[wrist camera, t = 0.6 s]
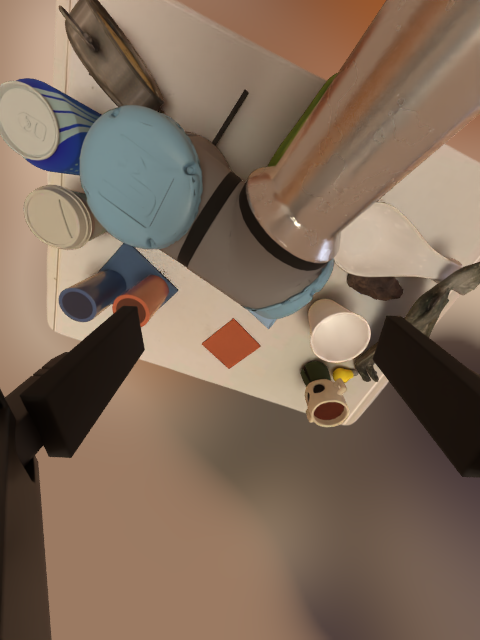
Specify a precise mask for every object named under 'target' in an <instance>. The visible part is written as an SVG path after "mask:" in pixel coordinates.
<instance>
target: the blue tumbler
mask: <svg viewBox="0 0 480 640" xmlns="http://www.w3.org/2000/svg"><path fill="white" fill-rule="evenodd" d="M125 291H126V282H125V280H124V278H123V277H122V276H121V275H120V274H119V273H117V272H116V271H113V270H103V271H101V272H99V273H97V274H95V275H93V276H91V277H89V278H87V279H85V280H83V281H81V282H79V283H77V284H75V285H73V286H71V287H69V288H67V289H65V290H63V291H62V292H61V293H60V296H59V305H60V307H61V309H62V311H63V312H64V313H65V314H66V315H67V316H68V317H69V318H71V319H73V320H75V321H79V322H88V321H90V320H92V319H93V318H95V317H96V316H97V315H99V314H100V313H101V312H102V311H104V310H105V309H106V308H107V307H109V306H110V305H111V304H113V303H114V301H115V299H116V298H117V297H119V296H120V295H121V294H123V293H124V292H125Z"/></svg>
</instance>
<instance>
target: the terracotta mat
mask: <svg viewBox="0 0 480 640" xmlns="http://www.w3.org/2000/svg"><path fill="white" fill-rule="evenodd" d="M202 345H203V346H204V347H205V348H206V349H208V350H209V351H210V352H211V353H212V354H213V355H214V356H215V357H216V358H217V359H219V360H220V361H221V362H222V363H223V364H224V365H225V366H226V367H227V368H228V369H230V368H231V367H233V366H234V365H235V364H237V363H238V362H240V361H241V360H242V359H244V358H245V357H247V356H248V355H249V354H251V353H252V352H254V351H255V350H256V349H258V348H259V347H260V345H259V344H258V343H257V342H256V341H255V340H254V339H253V338H252V337H251V336H250V335H249V334H248V333H247V332H246V331H245V330H244V329H243V328H242V327H241V326H240V325H239V324H238V323H237V321H236V320H235V319H232V320H231V321H230V322H228V323H227V324H226V325H225V326H223V327H222V328H221V329H220V330H218V331H217V332H216V333H215V334H213V335H212V336H211V337H210V338H208V339H207V340H206V341H204V342H203V343H202Z"/></svg>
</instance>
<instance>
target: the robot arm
mask: <svg viewBox="0 0 480 640" xmlns="http://www.w3.org/2000/svg"><path fill="white" fill-rule="evenodd" d="M247 95H248V91H247V90H244V92H243V93H242V95H241V97H240V98H239V100H238V101H237V103H236V105H235V106H234V108H233V109H232V111H231V113H230V114H229V116H228V118H227V119H226V121H225V122H224V124H223V126H222V127H221V129H220V131H219V132H218V134H217V135H216V137H215V139H214V140H213V142H212V143H211V142H210V141H209V140H207V139H206V138H204V137H202V136H200V135H197V134H194V133H190V132H185V131H184V130H183V128H182V127H181V126H180V125H179V124H178V123H177V122H175V121H174V120H173V119H172V118H170V117H169V116H167V115H165V114H163V113H159V112H157V111H155V110H152V109H150V108H147V107H143V106H138V105H125V106H121V107H119V108H115V109H113V110H109V111H107V112H106V113H104V114H103V115H102V116H100V117H99V118H98V119H97V120H96V121H95V122H94V123H93V125H92V126H91V127H90V129H89V131H88V133H87V135H86V137H85V139H84V142H83V145H82V149H81V153H80V180H81V185H82V187H83V189H84V192H85V194H86V196H87V203H88V205H89V207H90V209H91V211H92V213H93V215H94V216H95V218H96V219H97V220H98V222H99V223H100V224H101V225H102V226H103V227H104V228H105V230H106V231H108V232H109V233H110V234H111V235H112V236H113V237H115V238H116V239H118V240H120V241H122V242H123V243H125V244H128V245H130V246H133V247H137V248H142V249H160V250H161V251H163V252H164V253H166V254H167V255H169V256H170V257H172V258H173V259H175V260H176V261H178V262H179V263H181V264H183V265H184V266H186V267H187V268H188V269H189V270H190V271H192V272H193V273H195V274H196V275H198V276H199V277H201V278H202V279H204V280H205V281H207V282H208V283H209V284H211V285H212V286H214V287H215V288H217V289H218V290H220V291H221V292H223V293H224V294H226V295H227V296H229V297H230V298H231V299H233V300H234V301H236V302H237V303H239V304H240V305H241V306H243V307H244V308H245V309H247V310H251V311H253V312H255V313H257V314H258V315H260V316H262V317H264V318H267V319H280V318H283V317H286V316H289V315H291V314H293V313H295V312H297V311H298V310H300V309H301V308H302V307H304V306H305V305H306V304H307V303H309V302H310V301H311V300H312V299H313V294H314V293H316V292H319V291H320V290H321V289H322V288H323V287H324V285H325V284H326V282H327V281H328V279H329V277H330V275H331V273H332V270H333V265H334V257H335V256H336V255H337V253H338V252H339V248H340V239H341V231H343V230H344V229H345V228H346V227H347V226H348V225H350V224H351V223H352V222H353V221H354V220H355V219H357V218H358V217H359V216H360V215H361V214H362V213H364V212H365V211H366V210H367V209H368V208H370V207H371V206H372V205H373V204H374V203H375V202H377V201H378V200H379V199H380V198H381V197H382V196H384V195H385V194H386V193H387V192H388V191H389V190H391V189H392V188H393V187H394V186H395V185H396V184H398V183H399V182H400V181H401V180H402V179H404V178H405V177H406V176H407V175H408V174H409V173H411V172H412V171H413V170H414V169H415V168H416V167H418V166H419V165H420V164H421V163H422V162H423V161H425V160H426V159H427V158H428V157H429V156H430V155H432V154H433V153H434V152H435V151H436V150H438V149H439V148H440V147H441V146H442V145H443V144H445V143H446V142H447V141H448V140H449V139H450V138H451V137H453V136H454V135H455V134H456V133H457V132H458V131H460V130H461V129H462V128H463V127H464V126H466V125H467V124H468V123H469V122H470V121H471V120H473V119H474V118H475V117H476V116H477V115H479V114H480V0H386V2H385V3H384V5H383V6H382V8H381V9H380V11H379V12H378V14H377V15H376V17H375V18H374V20H373V21H372V23H371V24H370V26H369V27H368V29H367V30H366V32H365V33H364V35H363V36H362V38H361V39H360V41H359V42H358V44H357V45H356V47H355V48H354V50H353V51H352V53H351V54H350V56H349V57H348V59H347V60H346V62H345V63H344V65H343V66H342V68H341V69H340V71H339V72H338V74H337V75H336V77H335V78H334V80H333V81H332V83H331V84H330V86H329V87H328V89H327V90H326V92H325V93H324V95H323V96H322V98H321V99H320V101H319V102H318V104H317V105H316V107H315V108H314V110H313V111H312V113H311V114H310V116H309V117H308V119H307V120H306V122H305V123H304V125H303V126H302V128H301V129H300V131H299V132H298V134H297V135H296V137H295V138H294V140H293V141H292V143H291V144H290V146H289V147H288V149H287V150H286V152H285V153H284V155H283V156H282V158H281V159H280V161H279V162H278V164H277V165H276V166H272V167H263V168H258V169H256V170H255V171H253V172H252V173H251V174H250V176H249V177H248V179H247V181H246V183H245V182H244V181H242V179H240V178H239V177H238V176H236V175H235V174H234V173H233V172H232V171H231V170H230V168H229V165H228V163H227V161H226V160H225V158H224V156H223V155H222V153H221V152H220V151H219V150H218V148H217V147H216V145H217V143H218V141H219V140H220V138H221V137H222V135H223V133H224V132H225V130H226V129H227V127H228V125H229V124H230V122H231V121H232V119H233V117H234V116H235V114H236V113H237V111H238V109H239V108H240V106H241V105H242V103H243V101H244V100H245V98H246V97H247ZM144 350H145V349H144V343H143V338H142V332H141V326H140V320H139V314H138V308H137V306H122V307H121V308H120V309H118V310H117V311H116V312H115V313H114V314H113V315H112V316H110V317H109V318H108V319H107V320H106V321H105V322H103V323H102V324H101V325H100V326H99V327H98V328H96V329H95V330H94V331H93V332H92V333H91V334H89V335H88V336H87V337H86V338H85V339H84V340H83V341H81V342H80V343H79V344H78V345H77V346H76V347H74V348H73V349H72V350H71V351H70V352H65V353H63V354H61V355H59V356H57V357H55V358H53V359H51V360H50V361H49V362H48V363H47V364H45V365H44V366H43V367H42V369H39V370H38V371H37V372H36V373H35V374H33V376H31V377H30V378H28V379H27V380H26V381H25V382H23V383H22V384H21V385H20V386H18V387H17V388H16V389H15V390H14V391H13V392H11V393H10V394H9V395H8V396H6V397H4V395H3V393H2V391H1V389H0V640H51V628H50V615H49V601H48V588H47V576H46V575H47V574H46V562H45V548H44V534H43V522H42V507H41V494H40V482H39V468H38V461H37V459H36V457H35V454H36V453H37V452H38V451H39V449H40V448H41V447H42V446H43V445H44V447H45V449H46V451H47V453H48V456H49V457H66V458H71V457H72V456H73V454H74V453H75V451H76V450H77V449H78V447H79V446H80V444H81V443H82V441H83V440H84V438H85V437H86V435H87V434H88V432H89V431H90V429H91V428H92V427H93V425H94V424H95V422H96V421H97V419H98V418H99V416H100V415H101V413H102V412H103V410H104V409H105V407H106V406H107V404H108V403H109V402H110V400H111V398H112V397H113V396H114V394H115V393H116V391H117V390H118V388H119V387H120V385H121V384H122V382H123V381H124V380H125V378H126V377H127V375H128V374H129V372H130V371H131V369H132V368H133V366H134V364H135V363H136V362H137V360H138V359H139V357H140V356H141V355H142V353H143V352H144ZM373 361H374V362H375V363H376V365H377V366H378V367H379V369H380V370H381V371H382V372H383V374H384V375H385V376H386V378H387V379H388V380H389V382H390V383H391V384H392V386H393V387H394V388H395V389H396V391H397V392H398V393H399V395H400V396H401V397H402V399H403V400H404V401H405V402H406V404H407V405H408V406H409V408H410V409H411V410H412V412H413V413H414V414H415V416H416V417H417V418H418V420H419V421H420V422H421V423H422V425H423V426H424V427H425V429H426V430H427V431H428V433H429V434H430V435H431V437H432V438H433V439H434V441H435V442H436V443H437V445H438V446H439V447H440V448H441V450H442V451H443V452H444V454H445V455H446V456H447V458H448V459H449V460H450V462H451V463H452V464H453V465H454V467H455V468H456V469H457V471H458V472H459V473H460V474H461V476H462V477H480V375H479V374H477V373H475V372H474V371H472V370H470V369H468V368H467V367H465V366H464V365H463V364H462V363H460V362H459V361H458V360H456V359H455V358H454V357H453V356H451V355H450V354H448V353H447V352H446V351H445V350H444V349H442V348H441V347H440V346H439V345H437V344H436V343H435V342H433V341H432V340H431V339H429V338H428V337H427V336H426V335H424V334H423V333H422V332H421V331H419V330H418V329H417V328H416V327H414V326H413V325H412V324H410V323H409V322H408V321H407V320H405V319H404V318H403V317H401V316H386V319H385V322H384V325H383V329H382V332H381V335H380V338H379V341H378V344H377V347H376V350H375V353H374V356H373Z"/></svg>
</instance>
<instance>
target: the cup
mask: <svg viewBox="0 0 480 640" xmlns="http://www.w3.org/2000/svg"><path fill="white" fill-rule="evenodd" d="M308 317H309V326H310V335H311V337H310V345H311V348H312V350H313V352H314V353H315V355H316V356H317V357H319V358H320V359H322V360H324V361H327V362H332V363H340V362H345V361H348V360H351V359H353V358H355V357H357V356H358V355H359V354H361V353H362V352H363V351H364V349H365V348H366V347H367V345H368V343H369V340H370V336H371V332H370V327H369V324H368V323H367V321H366V320H365V319H364V318H363V317H362V316H360V315H358V314H356V313H353V312H351V311H349V310H348V309H346V308H344V307H343V306H341V305H339V304H338V303H336V302H334V301H333V300H330V299H320V300H318V301H316V302H314V303H313V304H312V305H311V307H310V309H309V312H308Z"/></svg>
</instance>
